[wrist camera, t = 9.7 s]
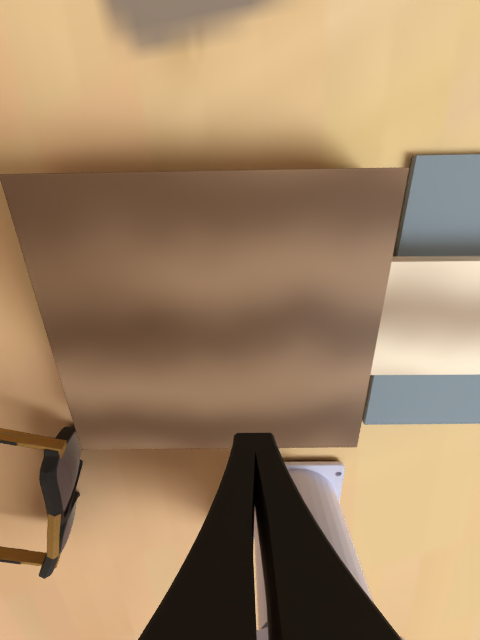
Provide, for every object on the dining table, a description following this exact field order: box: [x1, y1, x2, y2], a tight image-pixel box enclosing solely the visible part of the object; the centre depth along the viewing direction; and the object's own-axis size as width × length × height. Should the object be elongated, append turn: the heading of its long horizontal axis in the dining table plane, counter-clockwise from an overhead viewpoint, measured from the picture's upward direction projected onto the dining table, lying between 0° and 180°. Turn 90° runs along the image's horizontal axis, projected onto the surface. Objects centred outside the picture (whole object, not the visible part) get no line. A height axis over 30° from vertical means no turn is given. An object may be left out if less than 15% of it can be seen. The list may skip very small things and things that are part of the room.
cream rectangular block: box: [370, 256, 480, 375], centre depth 16 cm, size 7×10×2 cm
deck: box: [0, 167, 409, 449], centre depth 16 cm, size 16×18×4 cm
